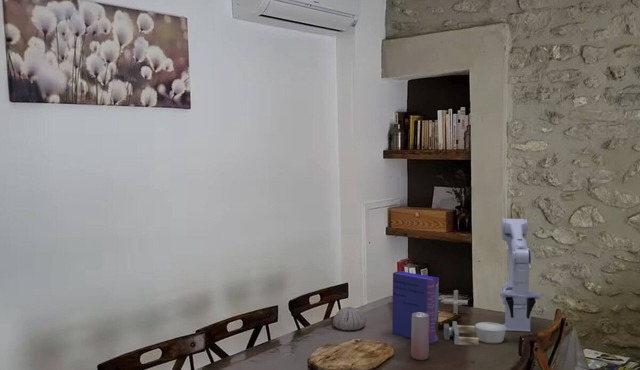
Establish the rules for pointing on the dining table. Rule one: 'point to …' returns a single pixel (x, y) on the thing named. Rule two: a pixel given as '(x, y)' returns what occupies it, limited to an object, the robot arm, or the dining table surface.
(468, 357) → the dining table surface
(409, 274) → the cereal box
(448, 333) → the grey h-shaped piece
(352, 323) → the sea urchin shell
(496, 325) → the ramekin
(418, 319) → the beverage can
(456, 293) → the pipe connector
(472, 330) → the pair of beige bars
